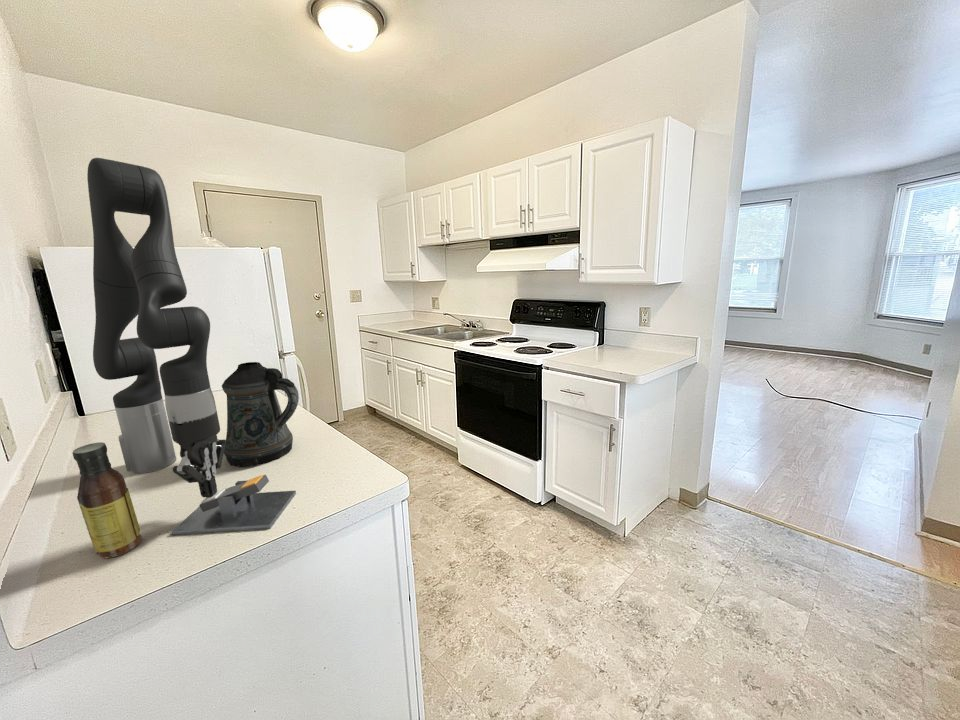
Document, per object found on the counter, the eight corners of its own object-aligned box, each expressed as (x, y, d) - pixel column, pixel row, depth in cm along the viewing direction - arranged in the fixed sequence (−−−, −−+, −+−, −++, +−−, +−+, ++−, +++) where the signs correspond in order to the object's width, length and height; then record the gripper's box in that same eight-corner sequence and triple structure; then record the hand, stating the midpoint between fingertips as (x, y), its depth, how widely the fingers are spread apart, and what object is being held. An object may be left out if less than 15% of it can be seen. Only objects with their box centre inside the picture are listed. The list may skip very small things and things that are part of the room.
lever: (203, 512, 77) (198, 503, 77) (215, 500, 81) (210, 492, 81) (259, 491, 77) (255, 483, 76) (269, 481, 81) (265, 473, 80)
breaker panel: (172, 535, 73) (166, 510, 72) (211, 499, 85) (207, 477, 84) (270, 528, 74) (265, 503, 73) (296, 493, 86) (292, 472, 85)
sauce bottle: (116, 538, 73) (88, 439, 69) (151, 535, 74) (126, 436, 69) (84, 563, 67) (52, 455, 63) (123, 560, 67) (94, 452, 63)
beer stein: (228, 449, 111) (211, 362, 105) (303, 434, 119) (291, 353, 114) (222, 474, 96) (202, 375, 91) (307, 455, 105) (294, 363, 99)
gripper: (195, 402, 81) (211, 479, 85) (145, 427, 68) (166, 516, 72) (232, 401, 81) (246, 477, 85) (189, 425, 68) (208, 514, 72)
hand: (209, 495), depth 79 cm, fingers closed
